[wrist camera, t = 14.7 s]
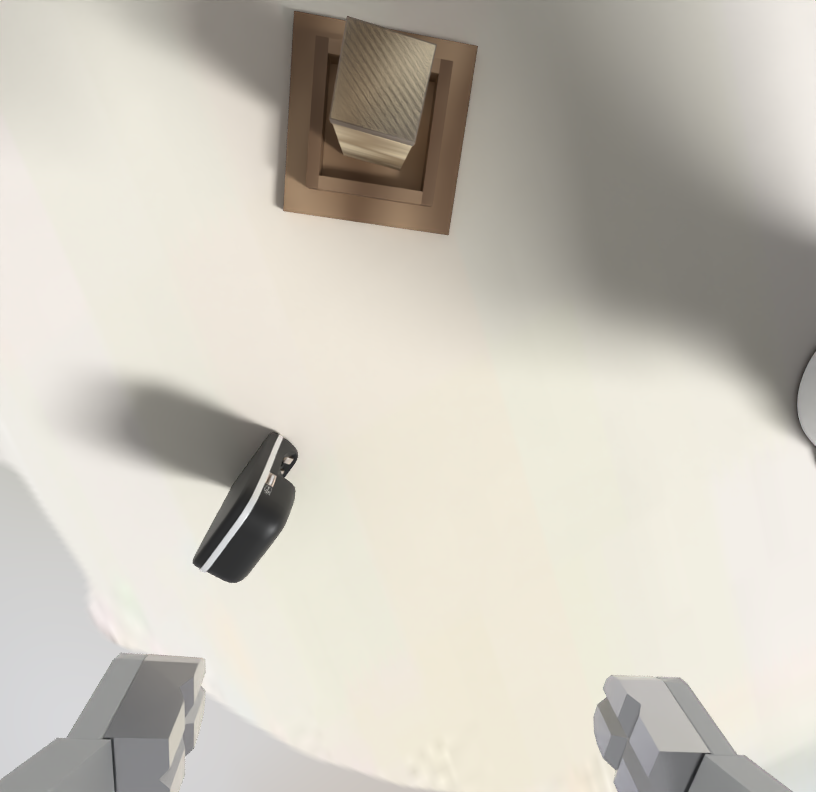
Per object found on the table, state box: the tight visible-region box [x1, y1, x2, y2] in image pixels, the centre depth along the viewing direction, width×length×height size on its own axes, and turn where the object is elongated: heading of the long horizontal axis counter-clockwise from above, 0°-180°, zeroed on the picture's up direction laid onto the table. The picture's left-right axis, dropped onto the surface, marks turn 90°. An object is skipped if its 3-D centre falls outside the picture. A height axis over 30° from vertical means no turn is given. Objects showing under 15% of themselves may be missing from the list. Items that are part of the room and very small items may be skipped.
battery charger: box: [193, 433, 298, 583], centre depth 37 cm, size 7×4×11 cm, turn 143°
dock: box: [283, 11, 478, 235], centre depth 33 cm, size 12×12×3 cm
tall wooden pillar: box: [329, 16, 437, 171], centre depth 28 cm, size 4×4×12 cm
